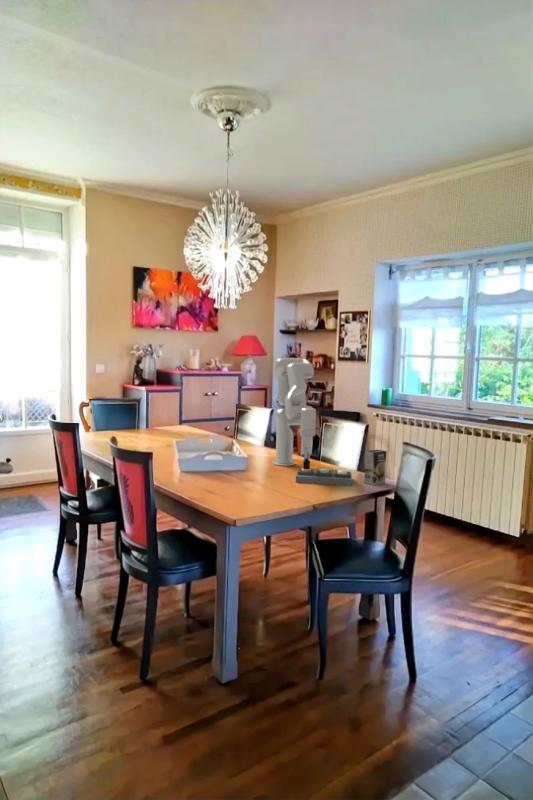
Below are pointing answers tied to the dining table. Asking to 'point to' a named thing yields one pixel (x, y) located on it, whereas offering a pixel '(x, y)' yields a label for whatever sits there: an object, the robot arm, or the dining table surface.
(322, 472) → the sage button
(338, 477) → the button panel
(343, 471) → the cream button
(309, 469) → the terracotta button
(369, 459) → the coffee box
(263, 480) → the dining table surface
